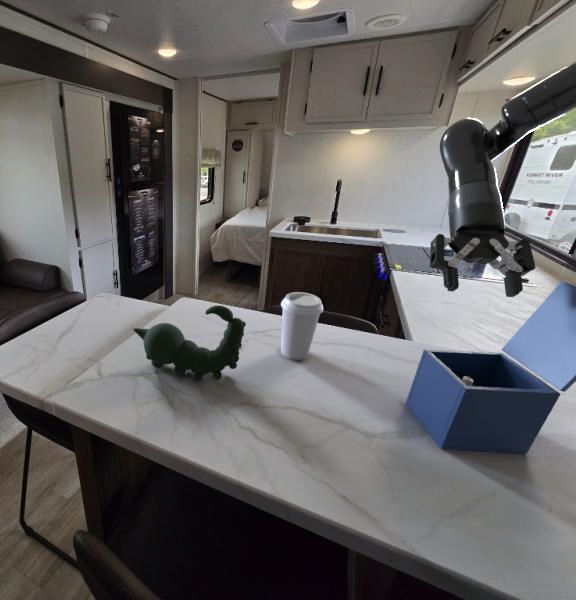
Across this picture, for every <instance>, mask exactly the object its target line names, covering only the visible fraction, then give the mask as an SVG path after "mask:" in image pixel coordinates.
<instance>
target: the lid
mask: <svg viewBox="0 0 576 600" xmlns="http://www.w3.org/2000/svg"><path fill="white" fill-rule="evenodd" d="M500 350H501V351H502V352H503V353H505V354H506V355H507V356H508V357H510V358H511V359H514V361H517V363H520V364H521V366H524V368H526V369H528V370H530V371H531V372H532V373H534V374H535V375H537V377H540V378H541V379H543V380H544V381H546V382H547V383H548V384H550V385H551V386H553V387H555V388H556V389H557V390H559V392H560V391H561V392H563V393H565V392H566V391H568V390H569V389H570V387H572V385H574V384H575V383H576V285H574V284H571V283H570V282H566V281H564V280H562V281H560V282H559V283H558V285H557V286H556V287H555V288H554V289H553V290H552V291H551V293H550V294H549V295H548V296H547V297H546V299H545V300H544V301H542V303H541V304H540V305H539V306H538V307H537V308H536V310H535V311H534V312H533V313H532V314H531V315H530V316H529V317H528V319H526V321H524V323H523V324H522V325H521V326H520V328H518V330H517V331H516V332H515V333H514V334H513V336H511V338H510V339H509V340H508V341H507V343H505V345H504V346H503V347H502V348H501V349H500Z"/></svg>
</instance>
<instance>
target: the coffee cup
mask: <svg viewBox="0 0 576 600" xmlns="http://www.w3.org/2000/svg"><path fill="white" fill-rule="evenodd" d="M280 307H281V308H282V316H281V317H282V318H281V339H280V341H281V342H280V352H281V354H282V355H283V356H284V357H285V358H288V359H290V360H295V361H301V360H305V359H307V358H308V356H309V352H310V350H311V345H312V342H313V339H314V336H315V332H316V329H317V326H318V323H319V318H320V315H321V314H322V313H323V312H324V305H323V303H322V300H321V298H320V297H318V296H317V295H315V294H312V293H309V292H302V291H295V292H289V293H287V294H286V295H285V297H284V298H282V300H281V302H280Z"/></svg>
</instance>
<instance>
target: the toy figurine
mask: <svg viewBox="0 0 576 600" xmlns="http://www.w3.org/2000/svg"><path fill="white" fill-rule="evenodd" d="M204 314H205V315H212V314H213V315H216V316H217V317H219V318H220V319H221V320H223V321H224V322H227V324H226V326H227V328H225V329H224V332H223V338H221V340H220V342H219V345H218V346H217V347H216V348H215V349H212V350H211V349H209V348H207V347H202V346H200V347H199V346H198V344H197V343H195V341H192V340H190V339H185V336H184V334H183V332H182V330H181V329H180V328H179V327H178V326H176V325H174V324H171V323H168V322H161V323H157V324H155V325H152V326H151V327H150V328H141V327H140V328H139V327H134V328H133V332H134V333H136V335H138V337H139V338H140V339H141V340H142V341H143V349H144V352H145V357H146V359H147V360H149V361H150V360H151V361H150V362H151V365H152V366H153V367H154V368H156V369H157V368H158V369H159V368H162V367H164V366H165V365H170V364H173V365H174V368H173V371H174V375H176V376H178V377H183V376H184V375H185V374H186V371H191V372H192V373H194V374H193V378H194V380H195V381H197V382H200V381H202V380H203V378H204V376H205V375H208V374H209V373H210V374H212V378H213V379H214V380H215V381H219V380H221V379H222V377H223V373H222V371H223V370H225V369H226V367H229V369H231V370H235V369H237V367H238V362H239V360H240V349H241V348H242V347H243V344H242V342H243V341H242V340H243V337H244V336H245V333H244V331H245V328H246V325H247V324H246V321H244V320H242V319H241V318H239V317H234V313H233V311H232V310H231V309H230V308H228V307H226V306H224V305H212V306H210V307H208V308H207V309H206V310H205V312H204Z"/></svg>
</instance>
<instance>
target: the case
mask: <svg viewBox="0 0 576 600" xmlns="http://www.w3.org/2000/svg"><path fill="white" fill-rule="evenodd" d="M464 376H467V377H469V376H470V378H471V379H472V380H473V381H474V382H473V385H472V386H467V385H466V384H465V383H464V382H463V381H462V379H463V377H464ZM413 377H414V378H413V380H412V383H411V385H410V389H409V392H408V394H407V398H406V401H405V405H406V406H407V407H408V409H409V410H410V411H411V412H412V414H413V415H414V416H415V417H416V419H417V420H418V422H419V423H420V424H421V425H422V426H423V428H424V429H425V431H426V432H427V433H428V434H429V436H430V437H431V438H432V440H433V441H434V442H435V444H436V445H437V446H438V447H439V449H441V450H451V451H465V452H466V451H468V452H480V453H481V452H483V453H498V454H511V455H528V452H529V451H530V449H531V447H532V446H533V444H534V442H535V440H536V438H537V437H538V436H539V433H540V432H541V430H542V428H543V426H544V425H545V423H546V421H547V419H548V417H549V416H550V415H551V412H552V411H553V409H554V407H555V405H556V403H557V402H558V400H559V399H560V396H561V393H560V391H557V390H556V389H555V388H553V387H552V386H550V385H549V384H548V383H546V382H545V381H543V380H542V379H540V378H538V376H536V375H534V374H533V372H530V371H529V370H527V368H525V367H523V365H520V364H518V362H516V361H515V360H513V359H512V358H511V357H510V356H508V355H507V354H506V355H505V354H504V352H495V351H494V352H493V351H492V352H491V351H471V350H470V351H468V350H446V349H445V350H444V349H423V351H422V354H421V357H420V360H419V362H418V365H417V369H416V372H415V374H414V376H413Z"/></svg>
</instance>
